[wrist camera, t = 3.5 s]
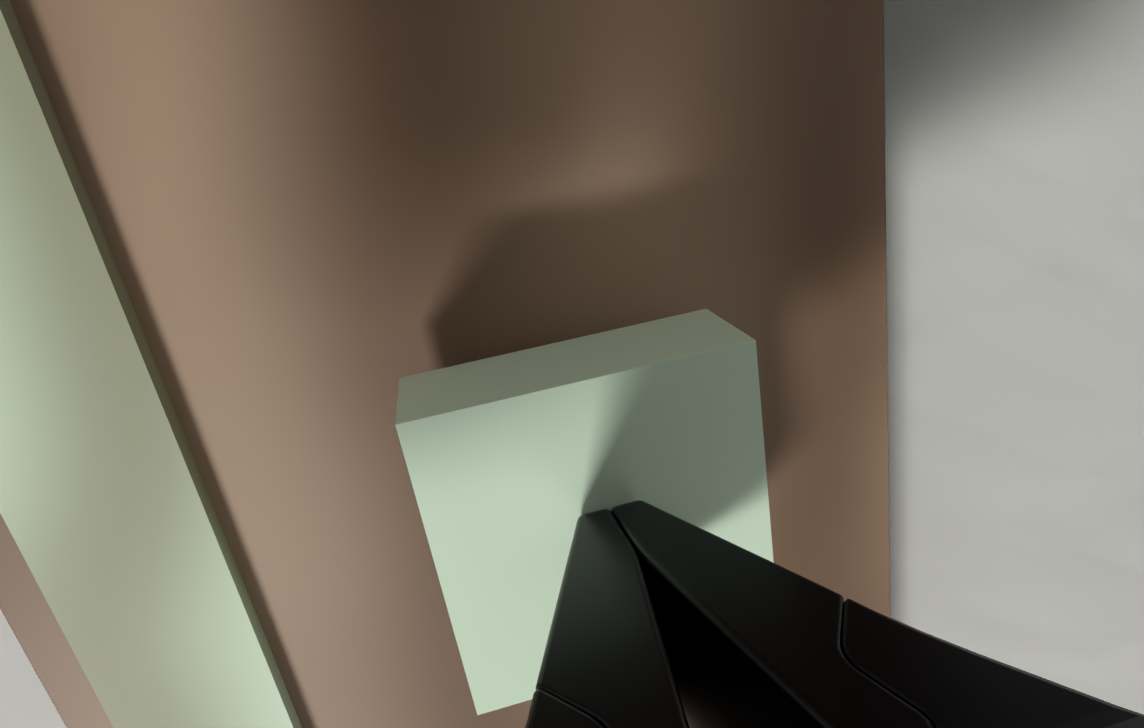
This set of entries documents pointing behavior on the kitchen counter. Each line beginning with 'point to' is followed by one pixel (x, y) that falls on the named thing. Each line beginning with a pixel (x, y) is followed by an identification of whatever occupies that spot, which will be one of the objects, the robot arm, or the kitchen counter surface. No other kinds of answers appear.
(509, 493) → the sage green button
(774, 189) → the button panel
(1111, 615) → the kitchen counter surface
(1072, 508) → the kitchen counter surface
